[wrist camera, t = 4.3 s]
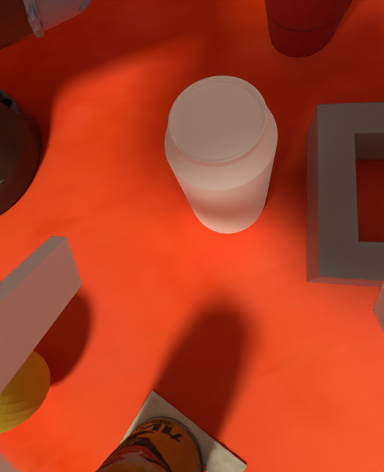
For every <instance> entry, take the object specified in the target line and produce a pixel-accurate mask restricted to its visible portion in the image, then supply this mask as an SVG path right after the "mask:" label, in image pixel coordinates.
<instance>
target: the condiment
mask: <svg viewBox="0 0 384 472" xmlns="http://www.w3.org/2000/svg"><path fill="white" fill-rule="evenodd" d="M205 464H206V468H207V469H206V470H207V471H208V472H244V470H245V468H246V467H247V465H245V464H244V463H243V462H242V461H240V460H239V459H238V458H236V457H235V456H234V455H233V454H232V453H230V452H229V451H228V450H227V449H225V448H224V447H222V446H221V445H220V444H219V443H218V442H216V441H215V440H214V439H213V438H211V437H210V436H209V435H208V434H207V433H205V432H204V431H203V430H202V429H200V428H199V427H198V426H197V425H196V424H195V423H193V422H192V421H191V420H190V419H188V418H187V417H186V416H184V415H183V414H182V413H181V412H180V411H178V410H177V409H176V408H175V407H173V406H172V405H171V404H169V403H168V402H167V401H166V400H165V399H163V398H162V397H161V396H159V395H158V394H157V393H155V392H154V391H152V392H151V393H150V395H149V397H148V398H147V400H146V402H145V403H144V405H143V407H142V408H141V410H140V412H139V413H138V415H137V416H136V418H135V420H134V421H133V423H132V425H131V426H130V428H129V430H128V431H127V433H126V434H125V436H124V438H123V439H122V441H121V442H120V444H119V446H118V447H117V448H116V449H115V450H114V451H113V453H112V454H111V455H110V456H109V457H108V458H107V459H106V460H105V461H104V462H103V464H102V465H101V466H100V468H99V469H98V470H97V471H96V472H206V470H205V469H204V465H205Z"/></svg>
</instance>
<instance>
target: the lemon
mask: <svg viewBox="0 0 384 472" xmlns="http://www.w3.org/2000/svg"><path fill="white" fill-rule="evenodd" d="M49 386H50V371H49V367H48V365H47V363H46V361H45V360H44V358H43V357H41V356H40V355H39V354H38V353H37V352H35V351H32V352H31V354H30V355H29V356H28V358H27V359H26V360H25V362H24V363H23V364H22V366H21V367H20V368H19V370H18V371H17V372H16V374H15V375H14V376H13V378H12V379H11V380H10V382H9V383H8V384H7V386H6V387H5V388H4V390H3V391H2V392H1V394H0V433H3V432H6V431H8V430H11V429H13V428H14V427H16V426H18V425H19V424H21V423H23V422H24V421H26V420H27V419H28V418H29V417H31V416H32V415H33V414H34V413H35V412H36V411H37V409H38V408H39V407H40V406H41V404H42V403H43V401H44V399H45V398H46V395H47V393H48V390H49Z"/></svg>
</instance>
